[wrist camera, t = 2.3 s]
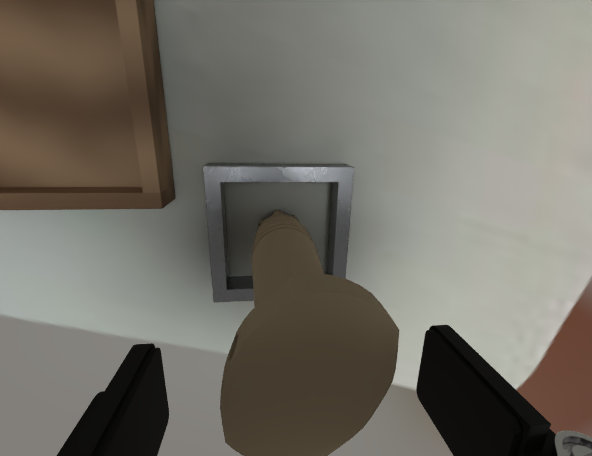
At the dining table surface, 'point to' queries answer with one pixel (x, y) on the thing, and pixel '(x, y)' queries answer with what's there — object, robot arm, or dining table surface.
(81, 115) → the tray
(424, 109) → the dining table surface
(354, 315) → the handle
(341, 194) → the collar
